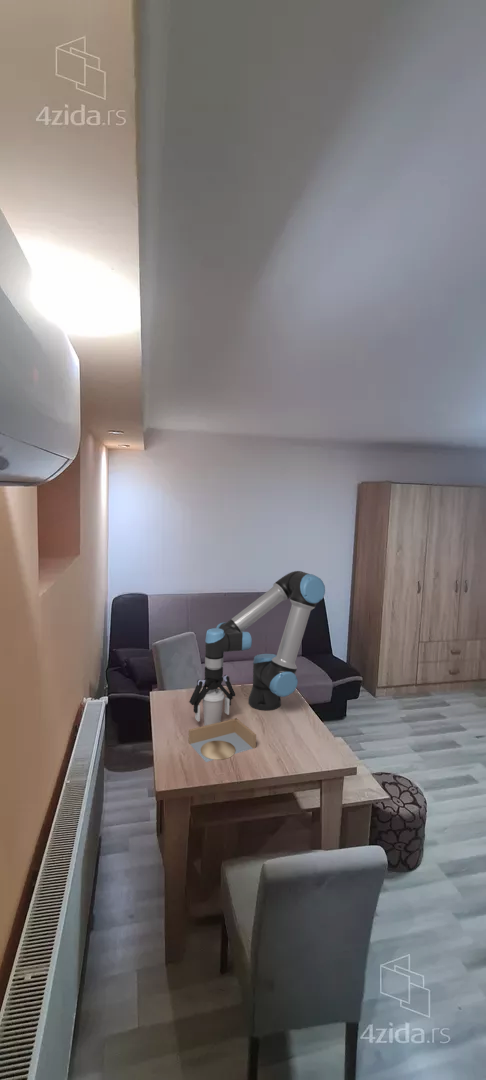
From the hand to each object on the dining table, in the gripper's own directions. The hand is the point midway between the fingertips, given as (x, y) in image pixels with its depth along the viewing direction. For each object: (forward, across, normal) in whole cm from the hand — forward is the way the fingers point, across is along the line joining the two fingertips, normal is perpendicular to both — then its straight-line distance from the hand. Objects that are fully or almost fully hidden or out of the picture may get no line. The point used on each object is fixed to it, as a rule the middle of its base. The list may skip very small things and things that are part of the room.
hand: (212, 716), depth 192 cm
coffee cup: (+5, 0, 0) cm, 5 cm away
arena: (+4, +4, +16) cm, 17 cm away
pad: (+4, +7, +18) cm, 20 cm away
